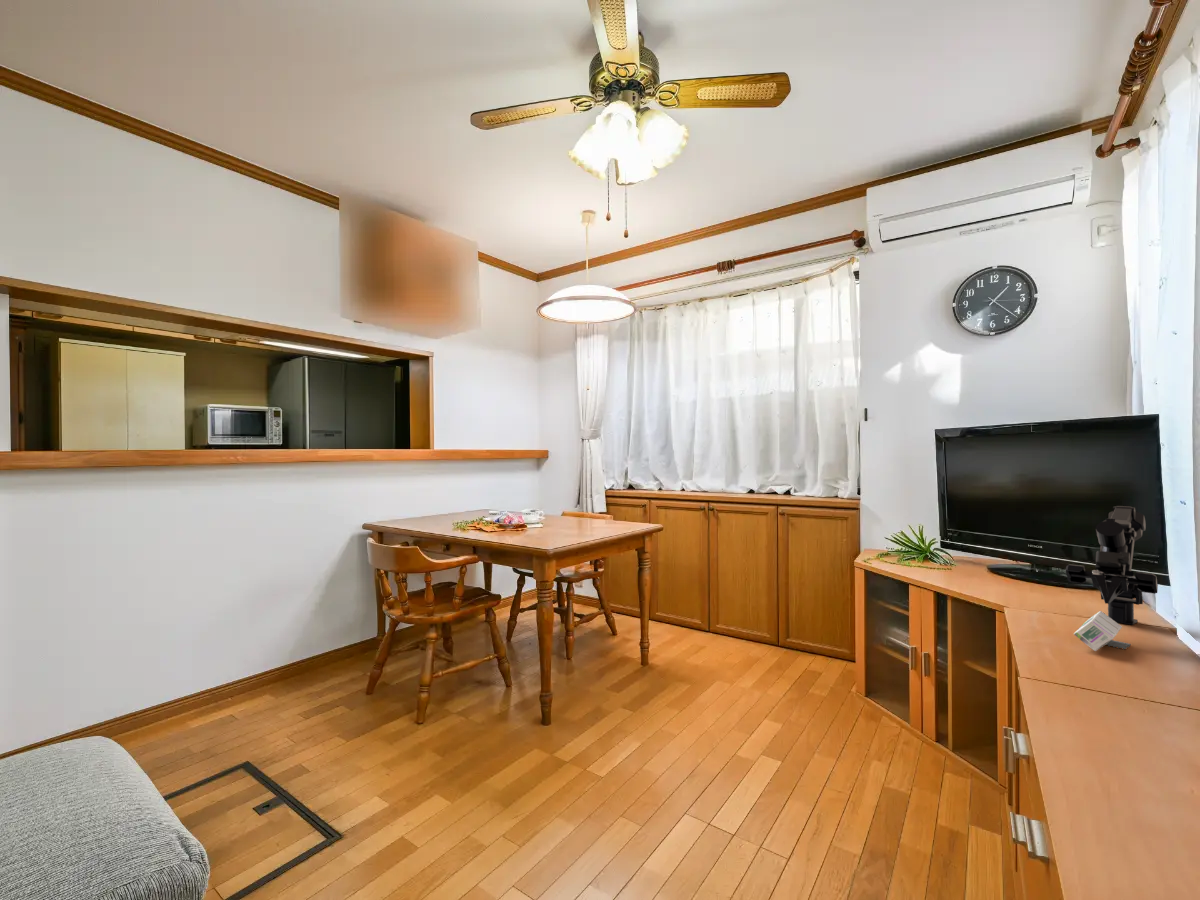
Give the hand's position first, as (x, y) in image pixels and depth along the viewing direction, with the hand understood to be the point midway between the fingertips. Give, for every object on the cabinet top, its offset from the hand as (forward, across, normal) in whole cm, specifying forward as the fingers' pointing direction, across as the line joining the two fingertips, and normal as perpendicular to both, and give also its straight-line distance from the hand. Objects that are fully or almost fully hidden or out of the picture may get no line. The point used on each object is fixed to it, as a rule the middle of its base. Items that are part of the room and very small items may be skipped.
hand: (1106, 602), depth 150 cm
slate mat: (+10, 0, +5) cm, 11 cm away
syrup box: (+5, -1, +4) cm, 6 cm away
